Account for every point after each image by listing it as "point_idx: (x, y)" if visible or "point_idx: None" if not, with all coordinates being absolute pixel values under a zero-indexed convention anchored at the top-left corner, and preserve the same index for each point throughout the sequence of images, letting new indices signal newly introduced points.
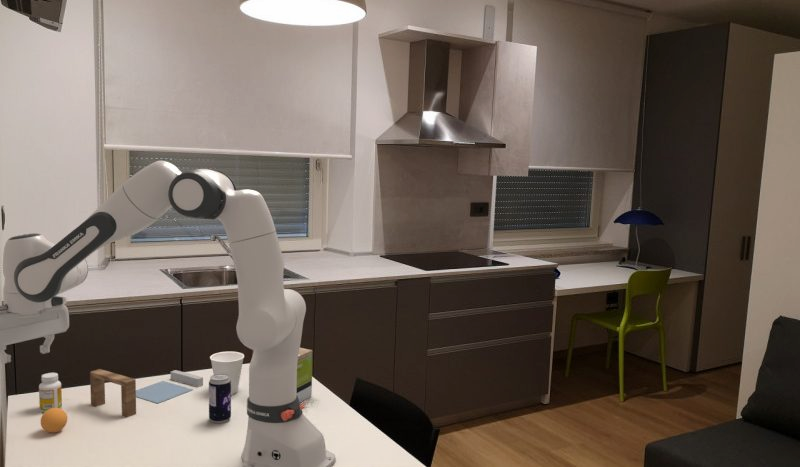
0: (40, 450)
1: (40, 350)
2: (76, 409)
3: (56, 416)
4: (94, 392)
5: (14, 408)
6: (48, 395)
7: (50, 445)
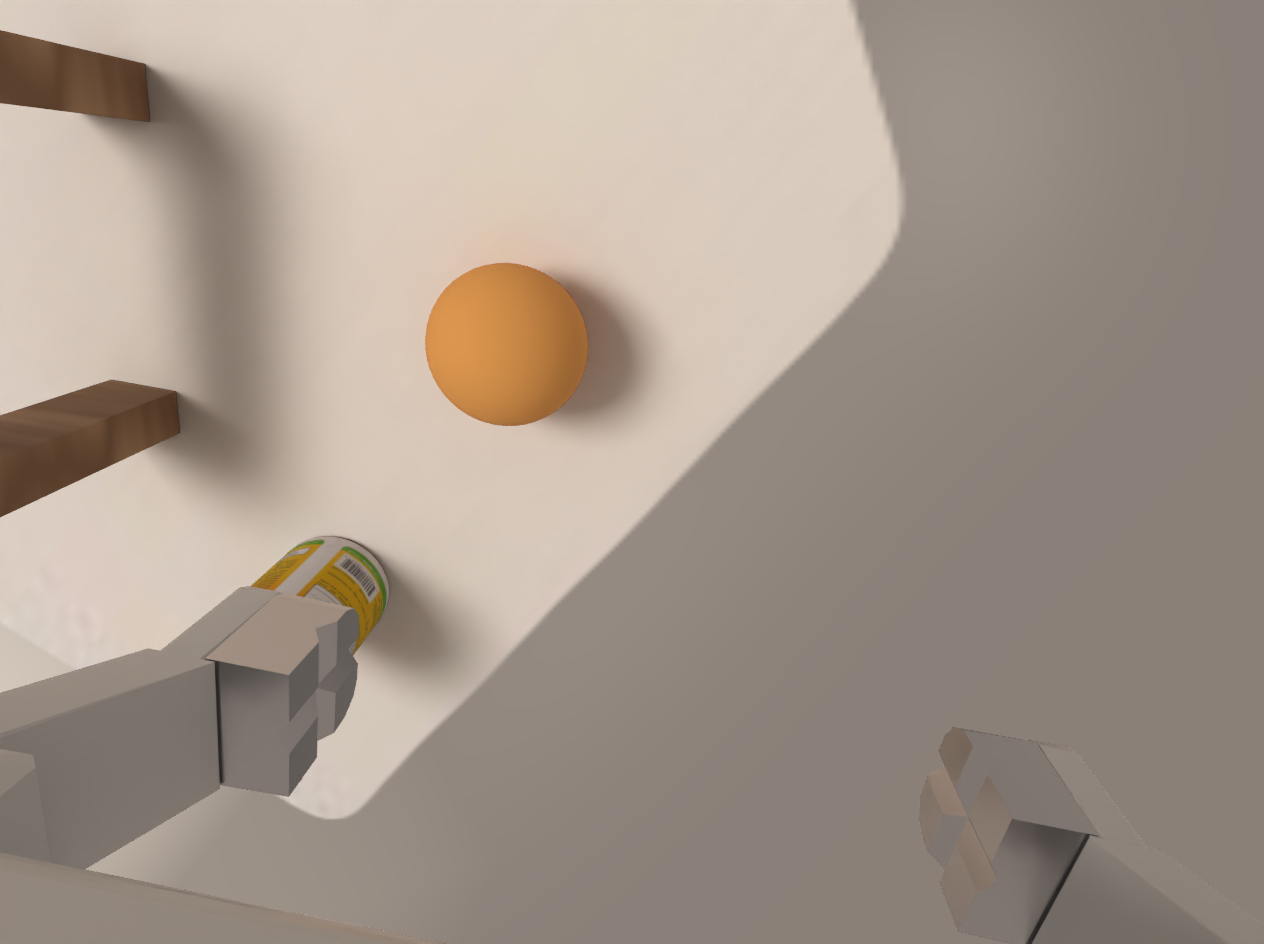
0: (752, 184)
1: (335, 717)
2: (262, 462)
3: (523, 295)
4: (104, 426)
5: (430, 731)
6: None
7: (676, 187)
